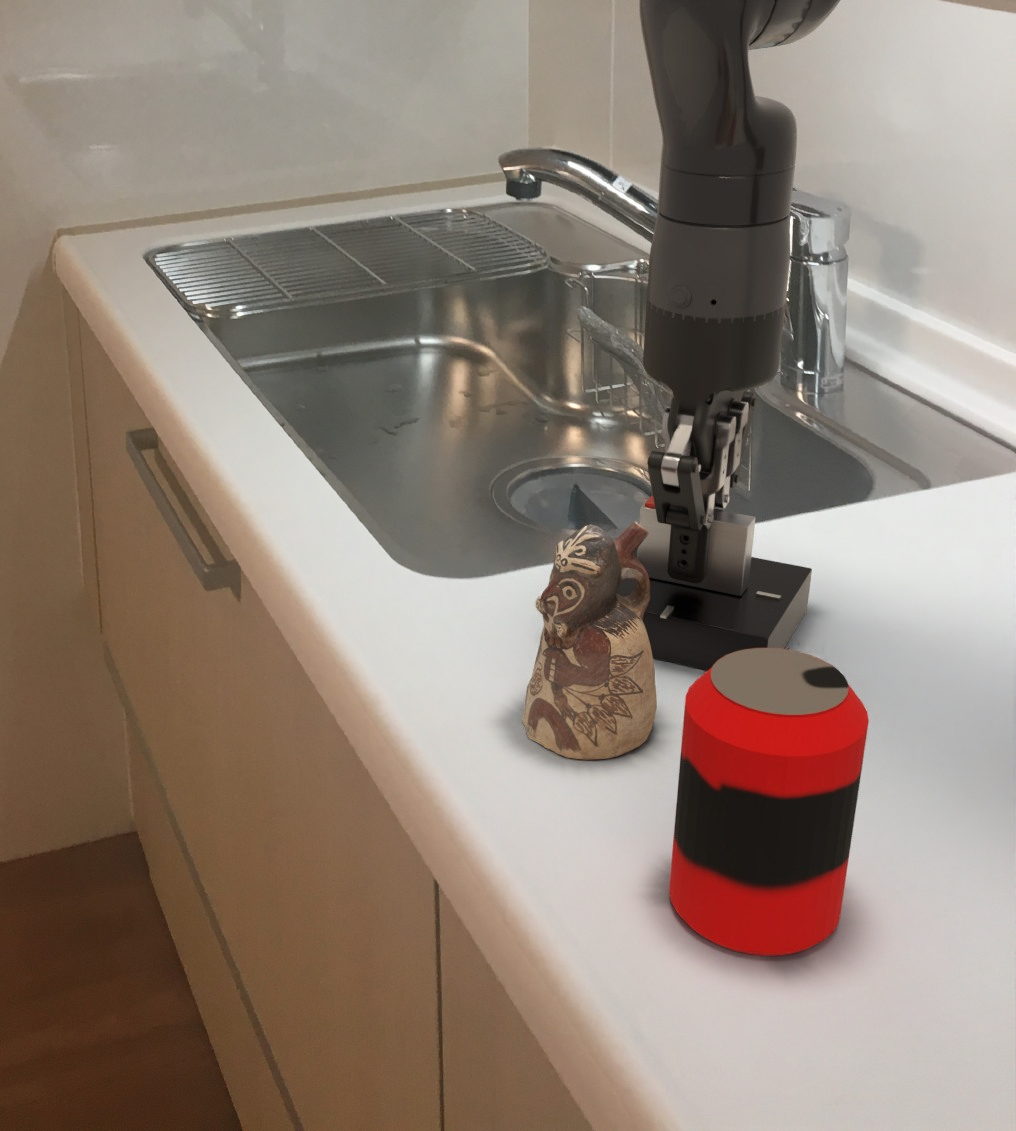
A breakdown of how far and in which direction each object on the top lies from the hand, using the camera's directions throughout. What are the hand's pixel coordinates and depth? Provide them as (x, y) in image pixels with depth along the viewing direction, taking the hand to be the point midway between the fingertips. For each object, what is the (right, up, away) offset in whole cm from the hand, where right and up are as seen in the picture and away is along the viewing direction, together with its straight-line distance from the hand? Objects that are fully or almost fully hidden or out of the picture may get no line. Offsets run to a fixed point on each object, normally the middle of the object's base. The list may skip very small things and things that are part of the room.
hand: (692, 570), depth 94 cm
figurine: (-8, -9, -8) cm, 14 cm away
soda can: (-3, -16, -23) cm, 28 cm away
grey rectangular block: (0, -1, 0) cm, 1 cm away
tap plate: (0, -3, +2) cm, 4 cm away
